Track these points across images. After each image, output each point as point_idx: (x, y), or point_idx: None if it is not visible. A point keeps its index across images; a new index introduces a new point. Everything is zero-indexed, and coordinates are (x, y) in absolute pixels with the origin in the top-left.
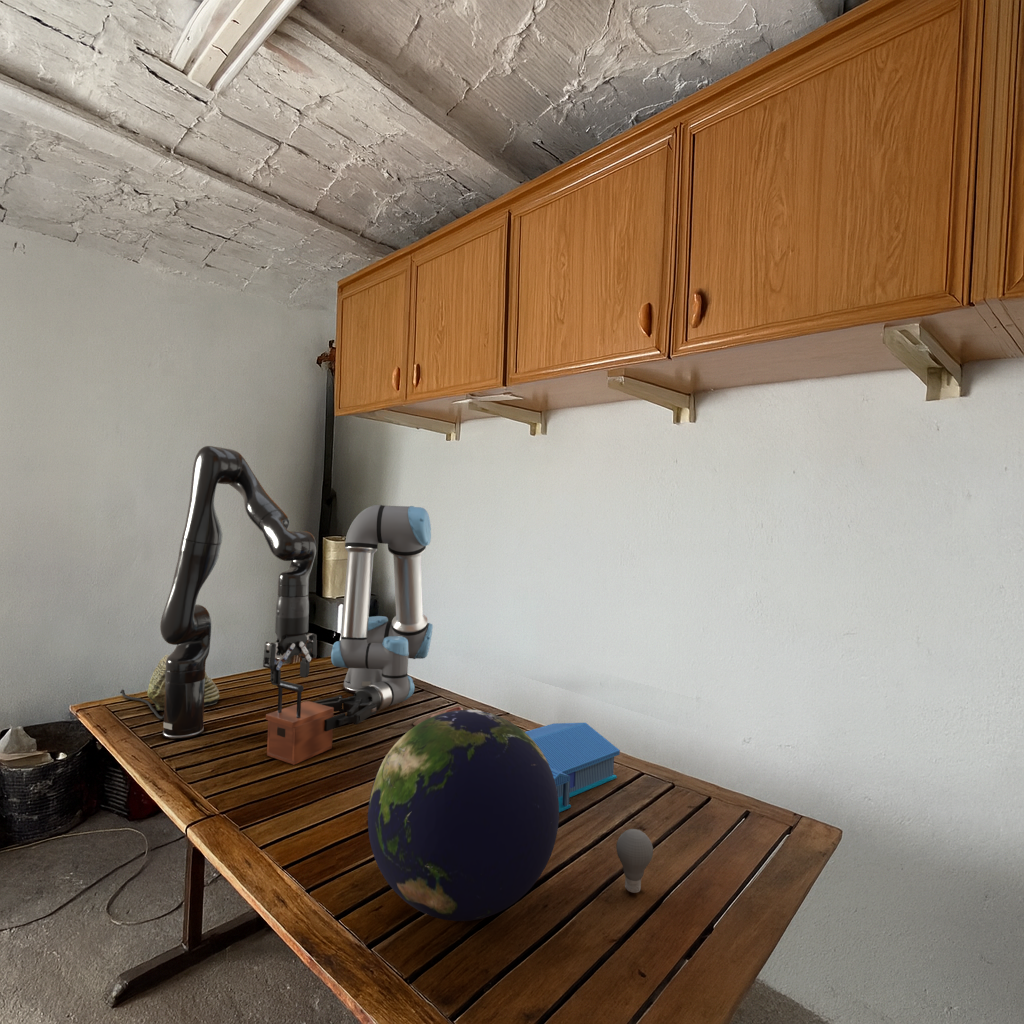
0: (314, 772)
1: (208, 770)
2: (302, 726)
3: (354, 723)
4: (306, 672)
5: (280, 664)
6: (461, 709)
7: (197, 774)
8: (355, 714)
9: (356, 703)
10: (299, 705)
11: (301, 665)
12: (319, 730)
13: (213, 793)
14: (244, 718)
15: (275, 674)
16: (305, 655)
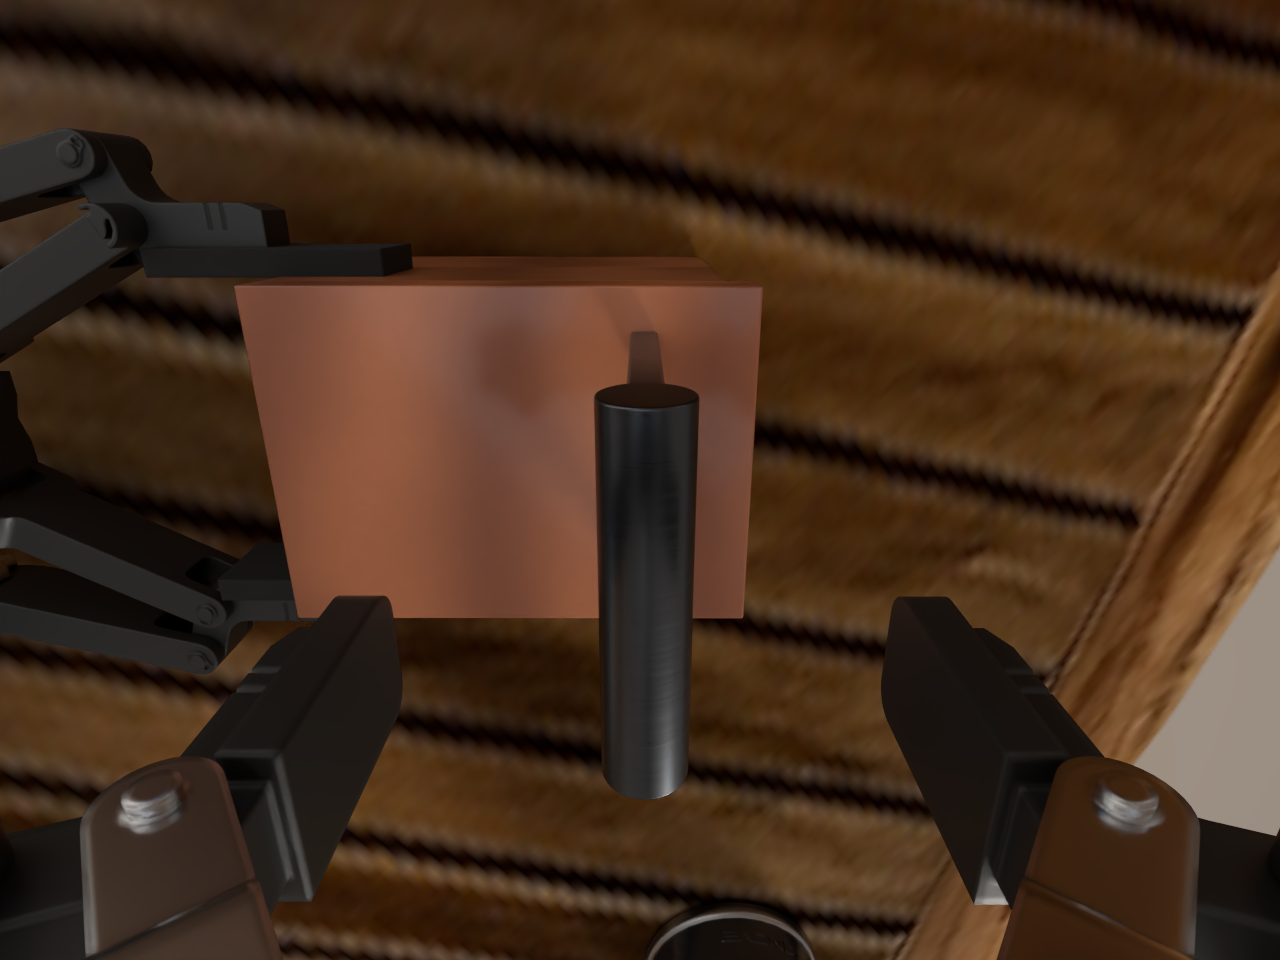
0: (708, 50)
1: (981, 569)
2: (644, 277)
3: (145, 157)
4: (353, 630)
5: (1105, 850)
6: None
7: (1041, 572)
8: (79, 152)
9: None
10: (649, 356)
11: (334, 811)
12: (460, 270)
13: (1190, 326)
14: (436, 919)
15: (1059, 727)
16: (257, 893)
